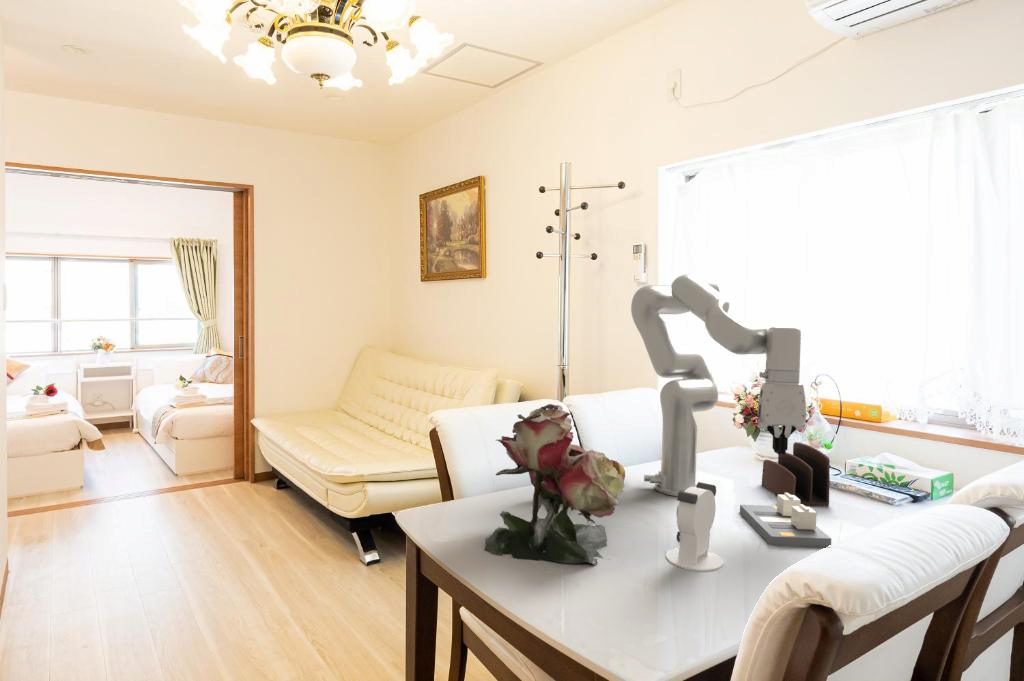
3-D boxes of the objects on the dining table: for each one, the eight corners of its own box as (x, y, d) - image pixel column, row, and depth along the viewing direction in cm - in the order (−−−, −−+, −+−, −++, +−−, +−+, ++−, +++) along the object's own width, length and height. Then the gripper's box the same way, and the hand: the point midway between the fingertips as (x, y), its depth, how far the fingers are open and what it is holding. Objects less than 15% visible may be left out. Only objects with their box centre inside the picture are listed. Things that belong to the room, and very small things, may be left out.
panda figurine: (681, 544, 141) (684, 477, 140) (732, 558, 133) (735, 487, 132) (656, 560, 131) (659, 488, 130) (709, 576, 124) (713, 500, 123)
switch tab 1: (782, 515, 154) (783, 497, 154) (776, 510, 158) (777, 492, 158) (799, 516, 154) (800, 497, 154) (793, 510, 158) (794, 492, 158)
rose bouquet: (620, 570, 126) (626, 420, 124) (477, 555, 132) (480, 411, 130) (623, 526, 151) (628, 400, 149) (503, 515, 157) (506, 394, 155)
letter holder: (794, 485, 189) (796, 438, 189) (829, 507, 170) (832, 454, 169) (761, 485, 189) (763, 438, 188) (792, 506, 169) (795, 454, 168)
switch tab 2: (797, 529, 145) (798, 509, 145) (790, 522, 149) (791, 503, 149) (815, 529, 145) (816, 509, 145) (808, 523, 149) (809, 504, 149)
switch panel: (771, 545, 141) (771, 535, 141) (739, 512, 163) (740, 504, 163) (830, 547, 141) (831, 538, 140) (791, 514, 163) (791, 506, 162)
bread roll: (576, 480, 189) (577, 454, 188) (594, 474, 196) (595, 448, 195) (613, 490, 180) (614, 462, 180) (631, 483, 187) (632, 456, 187)
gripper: (755, 378, 149) (753, 456, 150) (820, 379, 148) (818, 457, 149) (745, 375, 157) (743, 449, 158) (807, 376, 156) (805, 450, 157)
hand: (779, 453), depth 153 cm, fingers closed
